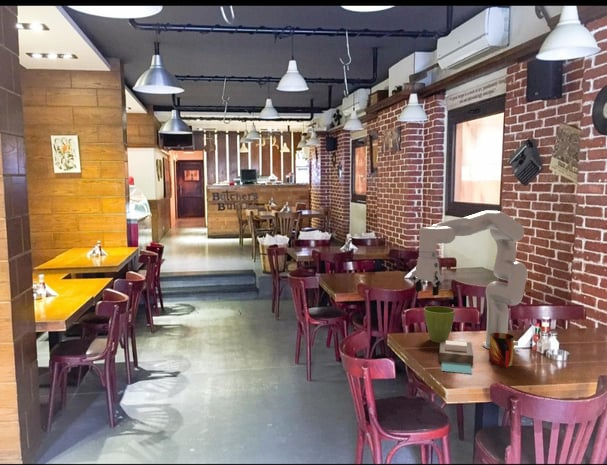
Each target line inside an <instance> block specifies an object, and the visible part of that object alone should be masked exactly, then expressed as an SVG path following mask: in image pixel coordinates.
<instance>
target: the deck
mask: <svg viewBox="0 0 607 465" xmlns="http://www.w3.org/2000/svg"><path fill="white" fill-rule="evenodd" d="M447 341H449V340H448V339H447ZM458 342H461V341H459V340H458ZM466 342H467V352H466V351H455V350H446V340H440V343H439V357H438V358H439V360H438V361H439V363H440V362H441V363H442V361H445V362H456V363H466V364H472V365H474V350H473V344H472V342H471V341H470V342H468V341H466ZM472 365H471V366H472Z"/></svg>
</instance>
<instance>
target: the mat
mask: <svg viewBox="0 0 607 465" xmlns="http://www.w3.org/2000/svg"><path fill="white" fill-rule="evenodd" d="M440 366H441V368H440V372H443V371H445V373H453V372H455V373H454V374H462V373H464V375H473V372H472V365H471V364H466V363H456V362H445V361H442V362H441V365H440Z"/></svg>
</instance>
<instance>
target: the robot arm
mask: <svg viewBox="0 0 607 465" xmlns="http://www.w3.org/2000/svg"><path fill="white" fill-rule="evenodd" d="M486 230H487V231H488V230H489V233H490V235H491V237H492V238H493V239H494V240H493V241H494V242H495V244H496V247H497V249H496V250H497V252H496V256H495V262H494V265H493V276H495V277H496V278H498V279H501V280H504V281H507V282H508V283H507V282H503V281H498V280H497V281H495V280H494V281H491V282H489V283H488V284H487V285H486V288H485V297H486V305H487V306H486V308H487V309H486V310H487V311H486V338H485V341H483V342H482V347H484V348H485V349H487V350H490V334H491V333H506V334H509V333H508V332H509V307H508V306H513V307H515V306H517V305H519V304H520V303H521V301H522V300H523V297H524V293H525V290H526V284H527V279H528V268H527V267H526V265H525V264H524V263H523V262H520V261H518V260H517V261H516V257H517V246H516V243H515V242H519V241H521V240H522V239H523V238H524V237H525V229H524V227H523V225H522V224H521V223H520V222H519V221H517V220H515V219H514V218H513V217H511V216H510V215H508V214H506V213H505V212H503V211H500V210H499V211H498V210H484V211H483V210H482V211H480V212H477V213H474V214H471V215H468V216H464V217H460V218H455V219H450V220H446V221H442V222H438V223H434V224H432V225H430V226H423V227H421V228H419V233H418V235H419V237H418V238H419V240H418V243H419V244H418V245H419V246H418V247H419V248H418V249H419V250H418V257H417V261H416V269H415V270H413V271H412V272H411V275H412V278H413V281H414V283H415V292H416V293H418V292H422V289H423V288H422V285H423V284H422V281H426V282H431V283H432V285H433V286H432V296H434V297H435V296H439V288H440V286H441V284H443V281H444V279H445V277H444V276H443V275H442V274H441V273H440V262H439V259H438V258H437V257H439V254H438V252H437V251H438V250H437V248H438V244H451V243H453V241H455V239H456V237H466V236H467V237H468V236H472V235H474V234H478V233H481V232H483V231H486ZM514 346H519V341H516V340H514Z"/></svg>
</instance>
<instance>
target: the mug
mask: <svg viewBox="0 0 607 465" xmlns="http://www.w3.org/2000/svg"><path fill="white" fill-rule="evenodd" d="M514 341H515V336H514V335H512V334H510V333H508V334H506V333H491V334H490V349H489V356H488V357H489V358H488V362H489V363H490V364H491V363H492V364H491V365H494V366H499V367H505V368H506V369H507V368H508V369H509V367H512V366H513V364H514V346H515V345H514Z"/></svg>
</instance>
